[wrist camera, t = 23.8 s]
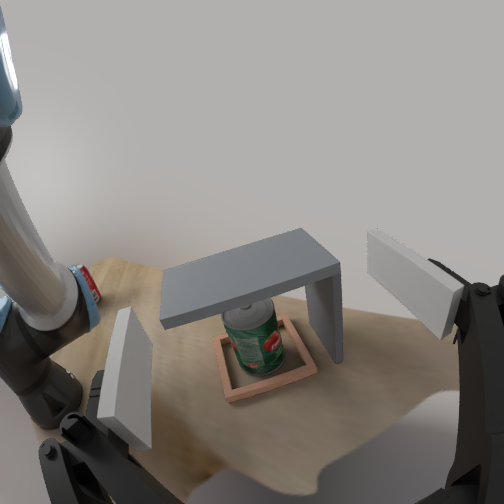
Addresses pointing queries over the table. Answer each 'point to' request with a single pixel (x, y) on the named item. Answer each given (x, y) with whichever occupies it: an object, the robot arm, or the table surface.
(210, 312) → the awning
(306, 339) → the table surface
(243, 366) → the canned tomato
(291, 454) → the table surface
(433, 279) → the robot arm
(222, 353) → the pink square frame
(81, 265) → the soda can
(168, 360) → the table surface
